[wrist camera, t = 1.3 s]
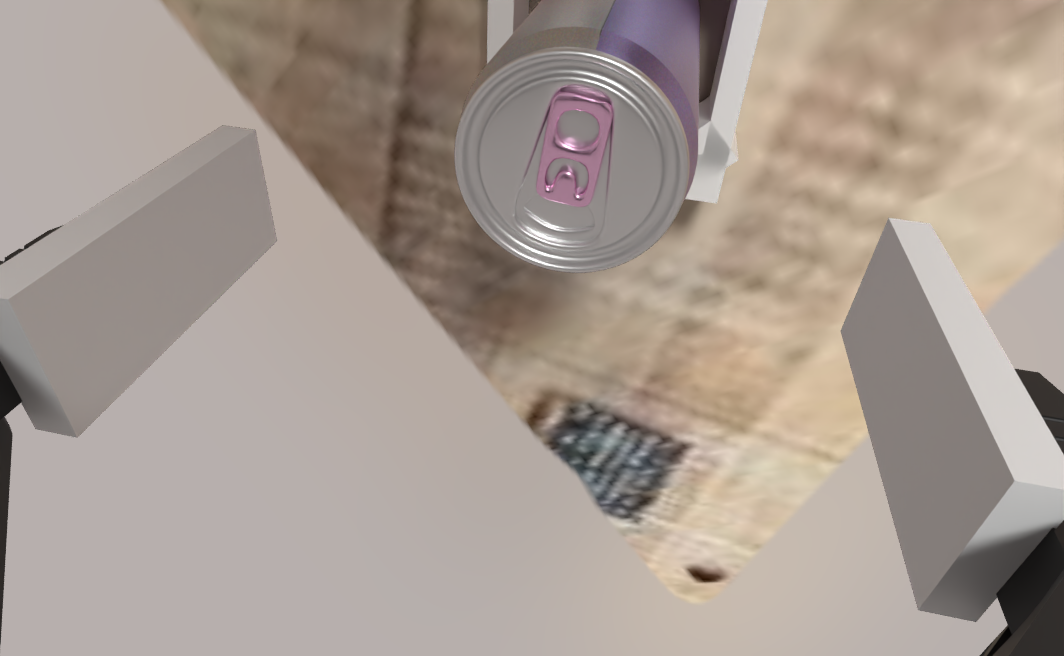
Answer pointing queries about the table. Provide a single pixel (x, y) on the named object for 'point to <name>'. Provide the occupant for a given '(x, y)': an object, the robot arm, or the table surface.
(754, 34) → the strip dock
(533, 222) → the beverage can
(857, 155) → the table surface
